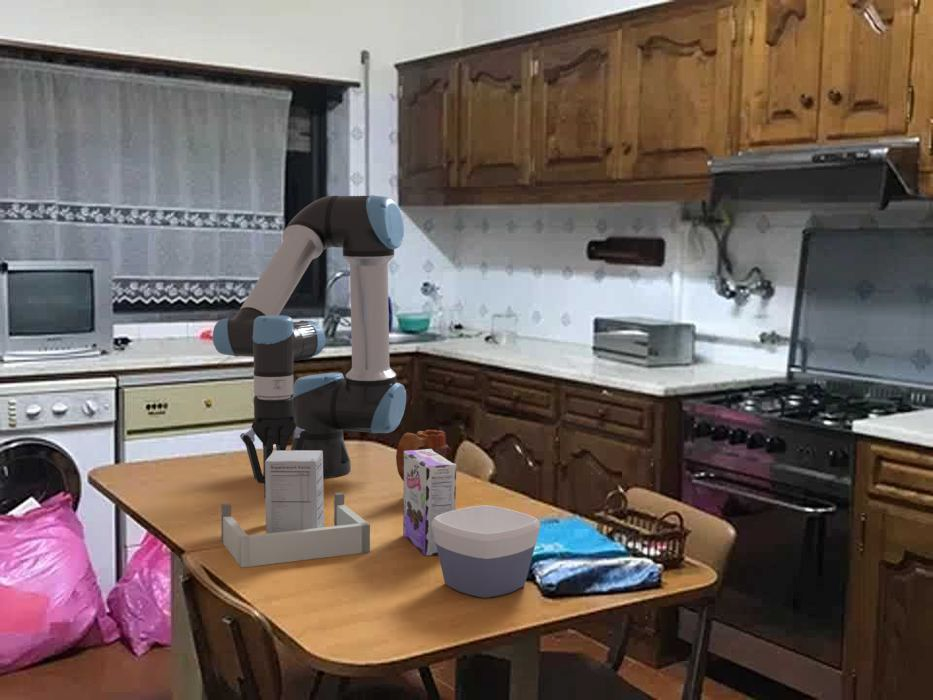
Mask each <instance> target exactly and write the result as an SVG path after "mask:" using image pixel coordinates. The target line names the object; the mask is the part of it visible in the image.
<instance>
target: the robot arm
mask: <svg viewBox="0 0 933 700" xmlns="http://www.w3.org/2000/svg"><path fill="white" fill-rule="evenodd" d="M404 230H405V229H404V221H403V216H402V213H401V210H400V208H399V207H398V205H397V203H396V202H395V200H393V199H392V198H391V197H388V196H382V195H381V196H380V195H374V194H372V195H371V194H370V195H329V196H328V195H327V196H324V197H321V198H319V199H316V200H313V202H311V203H309V204H308V205H307V206H305V207H304V208H302V209H301V210H300V211H298V213H296V215H295V216H294V217H292V219H291V220H290V222H288V224H287V226H286V227H285V229H284V230H283V232H282V235H281V236H282V242H281V244H280V245H279V247H278V248H277V250H276V252H275V253H274V255H273V256H272V258H271V260H270V261H269V263H268V264H267V266H266V267H265V269H264V271H263V272H262V274H261V275H260V277H259V278H258V279H257V281H256V283H255V285H254V286H253V288H252V289H251V291H250V292H249V294H248V296H247V297H246V299H245V301H244V302H243V304H242V305H241V307H240V308H239V310H238V311H237V313H236V314H235V316H234V317H233V318H231V317H227V318H222V319H219V320H218V321H216V323H215V325H214V326H213V331H212V343H213V346H214V349H215V350H216V351H217V352H218V353H219V354H221V355H224V356H232V357H237V358H238V357H247V358H253V395H255V398H254V399H253V422H252V424H251V429H249V430H248V431H247V432H245V433H244V432H243V433H240V435H239V437H240V439H241V441H242V443H244V445H245V448H246V450H247V454H248V459H249V463H250V466H251V470H252V474H253V479H254V480H255V481H257V483H259V484H263V486H264V490H263V491H264V492H263V493H264V495H263V496H264V498H265V461H266V460H267V459H268V457H269V456H270V455H271V454H272V452H273V451H274V445H275V448H276V449H275V451H287V442H288V441H289V440H290V438H291V436H293V439H292V440H293V441H292V444H291V447H290V449H289V451H294V450H308V451H323V479H324V478H325V479H326V478H335V477H339V476H344V475H346V474H349V473H350V472H351V466H352V465H351V464H352V463H351V459H350V456H349V453H348V450H347V446H346V444H345V441H344V431H352V432H353V431H354V432H363V433H372V434H388V433H392V432H393V431H395V430H396V429H397V428H398V426H400V423H401V421H402V419H403V417H404V414H405V410H406V406H407V404H406V403H407V392H406V391H407V390H406V388H405V386H404V384H402V383H400V382H397V373H396V372H395V371H394V370H393V369H392V368H391V367H390V366H391V365H390V323H389V322H390V319H389V318H390V317H389V315H390V314H389V313H390V312H389V310H390V309H389V270H388V269H389V267H388V266H389V265H388V264H389V262H390V261H391V260H392V259H393V258H394V257H395V249H398V248H400V246H401V245H402V244H403V240H404V236H405V235H404V234H405V233H404V232H405V231H404ZM330 248H342V258H343V259H345V261H346V262H347V263H348V264H349V281H350V282H349V286H350V287H349V290H350V291H349V292H350V293H349V295H350V328H351V329H350V333H351V335H350V337H351V339H350V340H351V368H350V370H349V371H348V372H347V373H346V374H345V377H344V374H343V373H342V372H328V373H319V374H318V373H317V374H310V375H305V376H301V377H299V378H297V379H296V380H295V381H294V362H297V361H301V360H309V359H312V358H313V357H317V356H318V355H319V354H320V353H322V351H323V350H324V348H325V345H326V334H325V331H324V329H323V327H322V326H321V325H320V324H319V323H318V322H316V321H313V320H302V319H301V320H299V321H294V320H293V318H292V317H291V316H288V315H282V314H281V313H282V311H283V309H284V307H285V306H286V304H287V302H288V301H289V299H290V298H291V295H293V293H294V291H295V289H296V287H297V285H298V284H299V282H300V281H301V279H302V278H303V275H304V274H305V272H306V271H307V270H308V268H309V265H310V264H311V262H312V261H313V260H314V259H318V258H320V257H319V256H321V254H322V253H323V252H324V250H326V249H330ZM280 314H281V315H280ZM255 436H257V438H258V439H259V440H260V442H261V443H262V453H263V454H262V455H263V457H262V458H263V460H262V461H263V462H262V463H263V469H261V468H262V467H261V464H260V461H259V457H258V453H257V449H256V446H255V443H254V442H255V441H256V439H255ZM262 470H263V471H262Z"/></svg>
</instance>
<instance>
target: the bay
mask: <svg viewBox="0 0 933 700" xmlns="http://www.w3.org/2000/svg"><path fill="white" fill-rule="evenodd" d="M333 503H334V506H333V507H334V508H333V509H334V510H333V511H334V512H333V518H334V519H333V522H334V523H333V525H332V526H324V527H322V528H313V529H304V530H294V531H285V532H276V533H267V534H266V533H260V534H252V535H248V534H247V533H246V532H245V530H244V528H242V527H241V525H240V524H239V523H238V522H237V521H236V520H235V518H234V517H233V516H232V505H231V503H221V504H220V508H221V510H220V513H221V514H220V517H221V518H220V520H221V523H220V524H221V525H220V526H221V543H223V545H224V546H225V549H227V551H228V552H229V553H230V554H231V556H232V557H233V559H234V560H235V561H236V563H237V564H238V565H239V567H240V568H249V567H250V568H251V567H257V566H265V565H266V566H267V565H275V564H283V563H290V562H299V561H307V560H315V559H322V558H323V559H324V558H331V557H333V558H334V557H338V556H339V557H341V556H348V555H356V554H363V553H364V554H365V553H370V552H371V523H368V522H367V521H366V520H364V519H363V518H362V517H361V516H360V515H358V514H357V513H356V512H354V510H351V508H350V507H348V506H347V505H345V494H344V492H335V493H334V494H333Z"/></svg>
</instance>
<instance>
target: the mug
mask: <svg viewBox="0 0 933 700" xmlns="http://www.w3.org/2000/svg"><path fill="white" fill-rule="evenodd" d="M446 435H447V434H446V432H445V431H443V430H437V429H426V430H423V431H422V430H419V431H417V432H416V433H413V432H412V433H411V432H405V433H404V434H403V435H402V436H401V438H400V439H399V443H398V445H397V447H396V454H395V461H396V468H397V473H398V475H399V477H400V479H401V480H402V481H403V482H404V451H409V450H421V449H432V450H433V451H434V452H436V453H438V454H439V455H441V456H442V457H444V458H445V459H447V455H448V454H450V453H451V452H452V448H450V447H449V445H448V444H447V442H446V438H447V437H446Z"/></svg>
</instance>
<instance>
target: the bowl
mask: <svg viewBox="0 0 933 700" xmlns="http://www.w3.org/2000/svg"><path fill="white" fill-rule="evenodd" d="M431 526H432V530H433V535H434V539H435V543H436V547H437V551H438V555H437V556H438V558H439V563H440V568H441V572H442V576H443V581H444V584H446V585H447V587H449V588H450V589H451V588H452V590H454V591H457V592H459V593H462V594H465V595H468V596H472V597H476V598H480V597H481V598H482V599H489V598H495V597H500V596H504V595H508V594H510V593H513V592H515V591H517V590H519V589H521V588H523V587H524V586H525V584H526V581H527V578H528V574H529V570H530V566H531V563H532V560H533V556H534V551H535V548H536V545H537V541H538V537H539V533H540V530H541V523H540V521H539V519H537V518H536V517H534V516H532V515H529V514H527V513H524V512H520V511H517V510H513V509H509V508H505V507H500V506H495V505H487V504H484V505H475V506H468V507H463V508H458V509H455V510H453V511H450V512H446V513H444V514H441V515H438V516H436V517H435V518H434V519H433V520H432V523H431Z"/></svg>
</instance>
